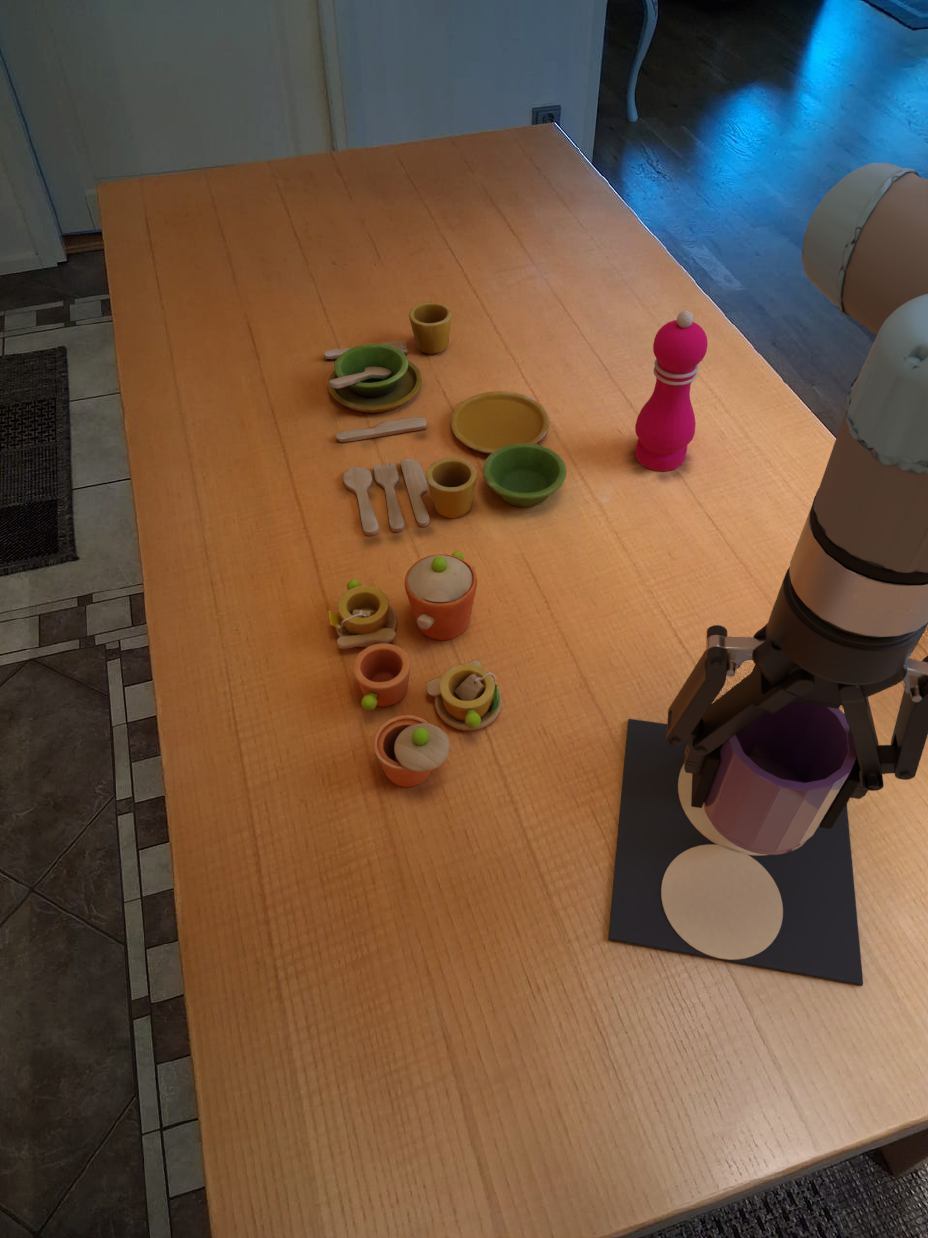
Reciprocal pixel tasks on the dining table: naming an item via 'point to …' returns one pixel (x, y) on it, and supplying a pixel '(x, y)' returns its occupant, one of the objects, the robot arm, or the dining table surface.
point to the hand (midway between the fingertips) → (760, 800)
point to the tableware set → (478, 422)
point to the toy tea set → (383, 669)
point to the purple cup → (780, 777)
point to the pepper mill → (671, 395)
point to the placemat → (725, 879)
